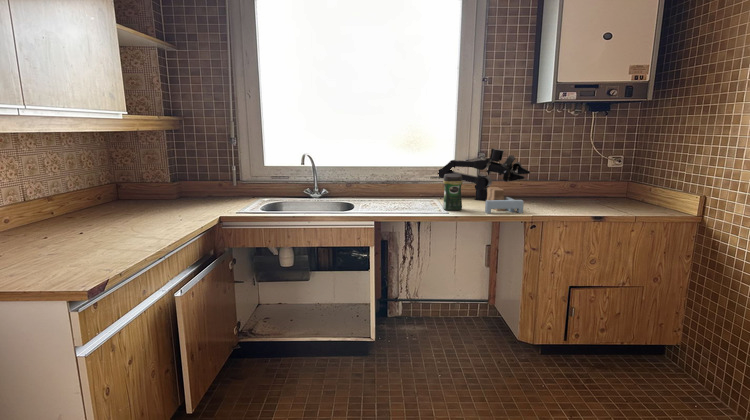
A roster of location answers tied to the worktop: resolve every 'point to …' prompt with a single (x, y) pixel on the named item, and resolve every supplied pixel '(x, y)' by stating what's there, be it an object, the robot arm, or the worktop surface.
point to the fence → (504, 205)
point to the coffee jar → (452, 192)
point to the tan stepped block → (495, 195)
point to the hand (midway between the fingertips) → (527, 175)
